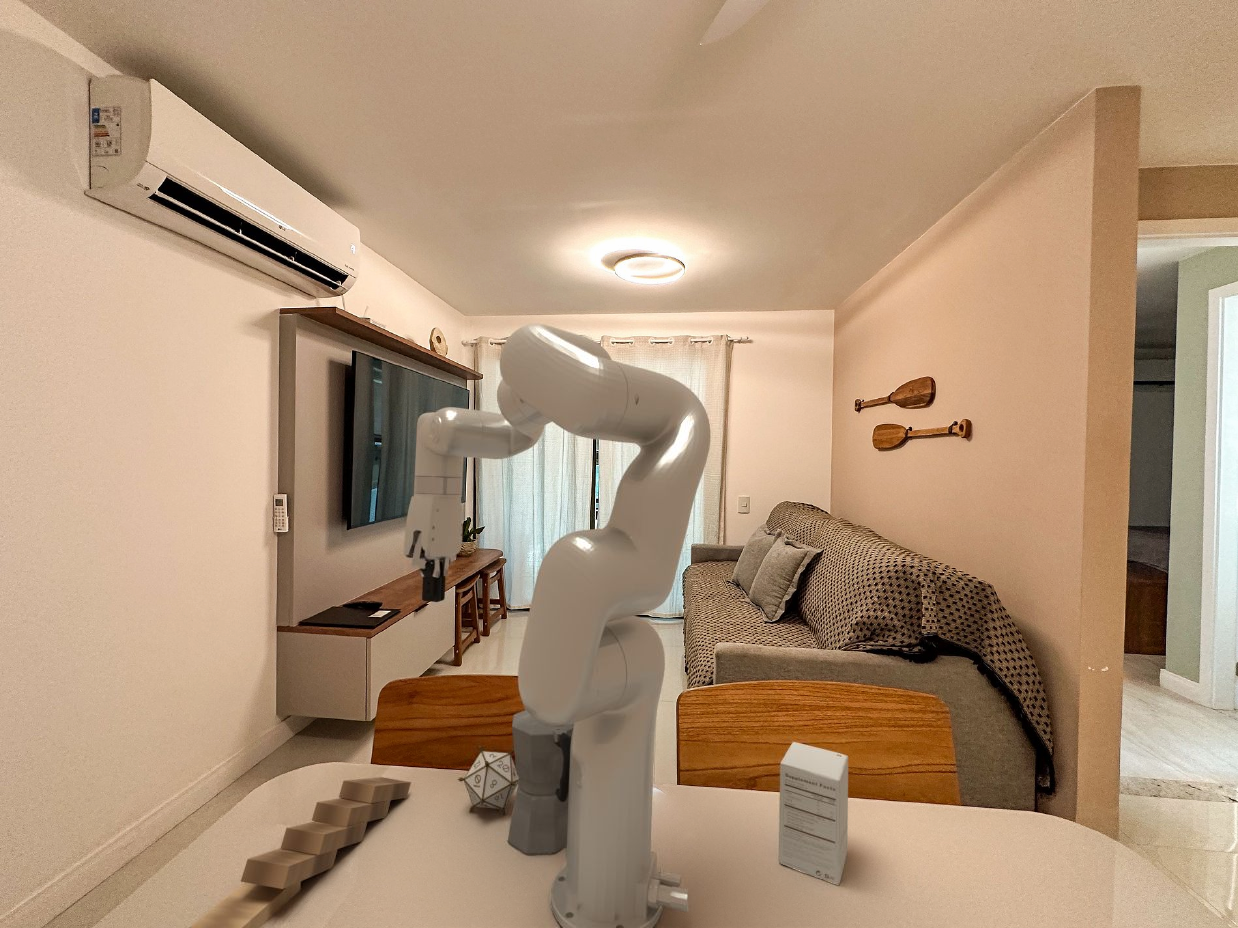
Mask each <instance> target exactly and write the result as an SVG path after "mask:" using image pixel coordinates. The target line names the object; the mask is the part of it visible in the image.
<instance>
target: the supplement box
mask: <svg viewBox="0 0 1238 928" xmlns="http://www.w3.org/2000/svg"><path fill="white" fill-rule="evenodd" d="M778 806H779V809H778V811H779V812H778V813H779V814H778V864H780V863H781V864H784V865H786V866H789V867H791V868H795V869H797V870H800V871H802V872H805V873H807V874H810V875H812V876H816V877H818V878H821V879H824V880H826V881H830V882H832V883H835V884H837V885H836V886H839V885H840V884H841V880H842V875H843V872H844V867H845V864H846V860H847V857H848V856H847V855H848V853H847V851H848V839H849V838H848V837H849V836H848V834H849V831H848V825H849V824H848V821H849V819H848V818H849V816H848V815H849V814H848V813H849V756H848V755H846V754H842V753H839V752H836V751H832V750H828V749H824V748H820V747H817V746H816V747H815V746H812V745H807V744H803V743H799V742H796V741H792V743H791V744H790V746H789V747H788V749H787V751H786V753H785V755H784V756H783V758H782V760H781V761H780V763H779V805H778ZM781 864H780V865H781ZM786 866H785V867H786ZM791 868H790V869H791ZM802 872H801V873H802ZM807 874H806V875H807ZM810 875H809V876H810ZM812 876H811V877H812ZM818 878H817V879H818ZM821 879H820V880H821ZM826 881H825V882H826ZM832 883H831V884H832Z"/></svg>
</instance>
